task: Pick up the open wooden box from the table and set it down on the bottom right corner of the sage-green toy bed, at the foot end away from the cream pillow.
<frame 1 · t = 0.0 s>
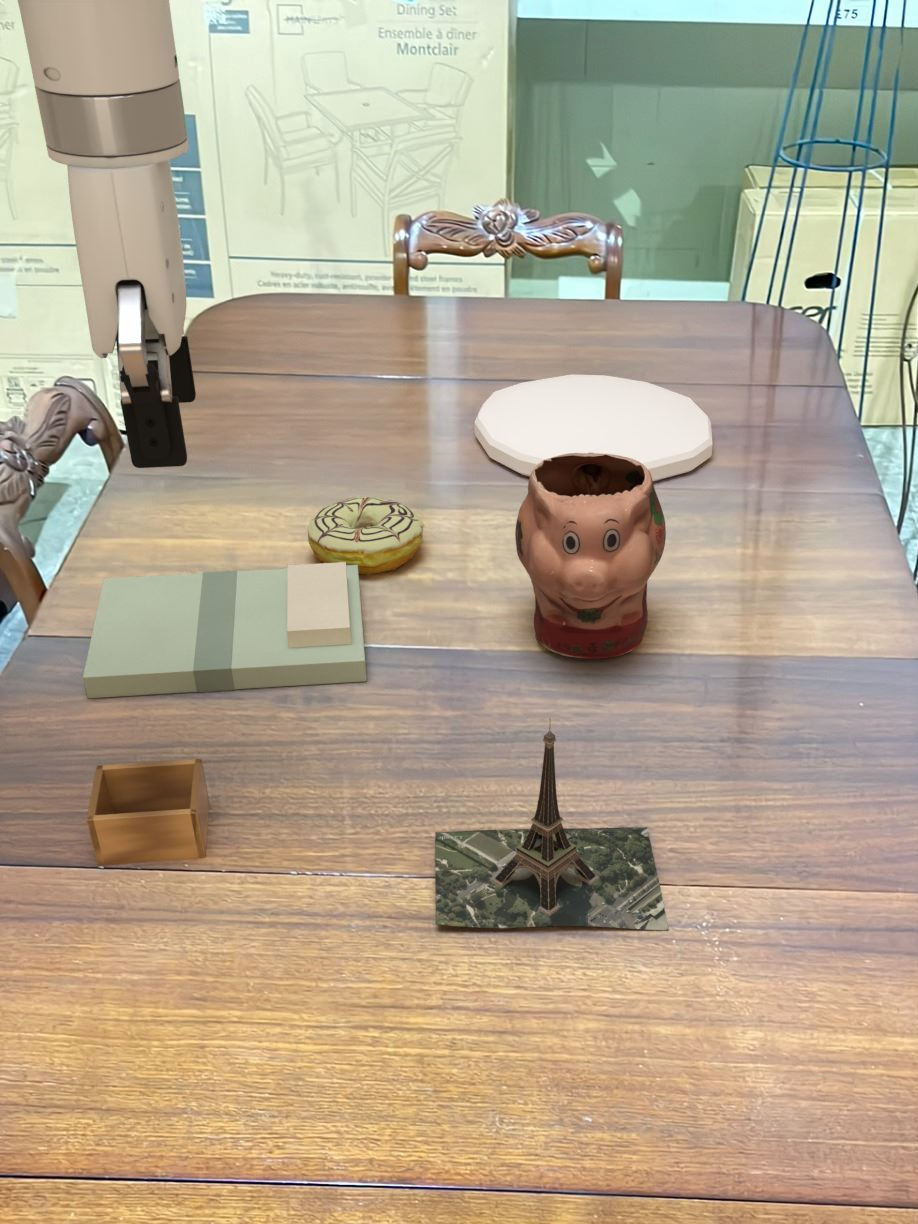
hand: (166, 431, 84), 25 cm above the table, tool pointing down, fingers open, 9 cm apart
decorative planter: (585, 625, 116), on the table
eiffel tower figurine: (547, 883, 91), on the table
decorated donut: (367, 554, 126), on the table
bed: (231, 638, 114), on the table
decorative plate: (593, 440, 145), on the table
open wooden box: (159, 852, 93), on the table
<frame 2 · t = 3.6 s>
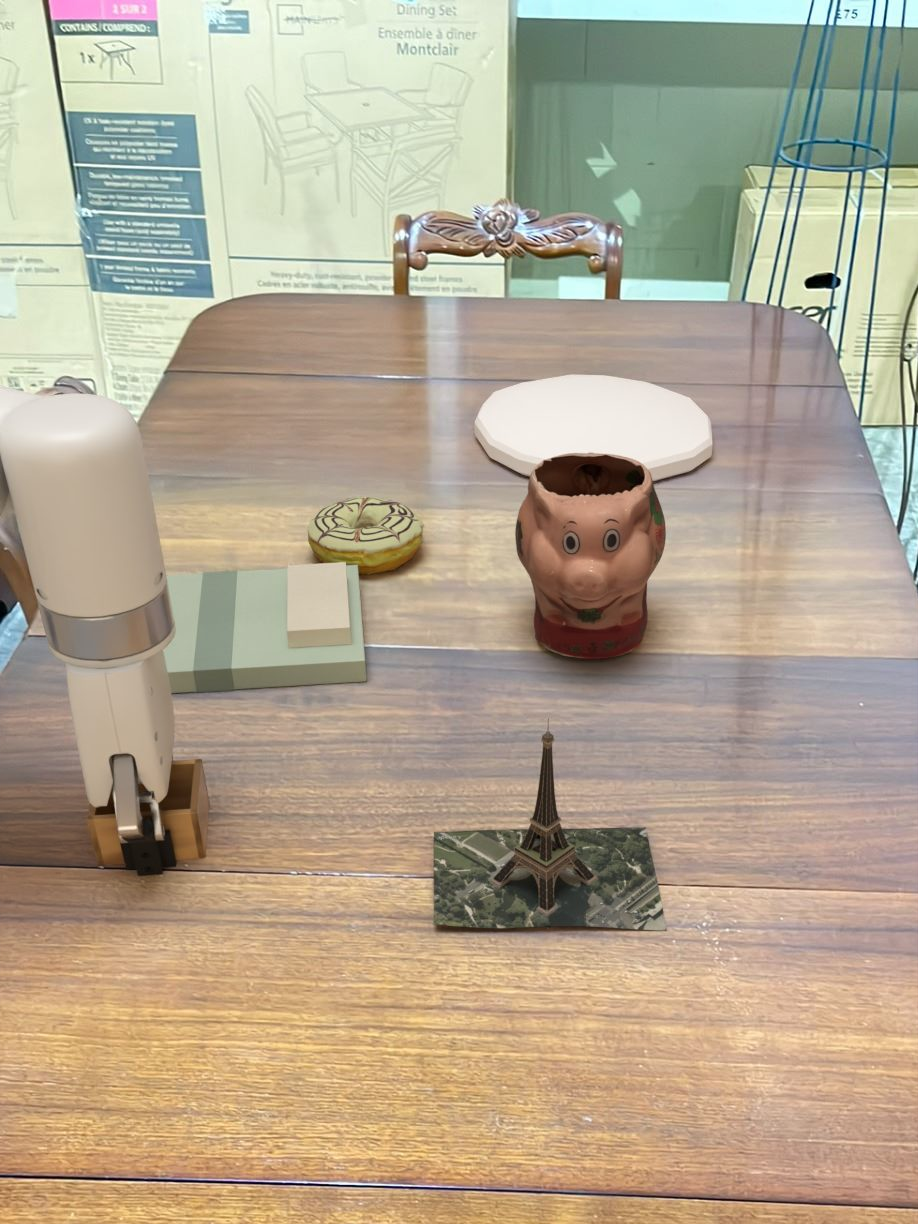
hand: (158, 846, 93), 1 cm above the table, tool pointing down, fingers closed on open wooden box, 6 cm apart
open wooden box: (159, 852, 93), on the table, touching gripper
everything else where it was.
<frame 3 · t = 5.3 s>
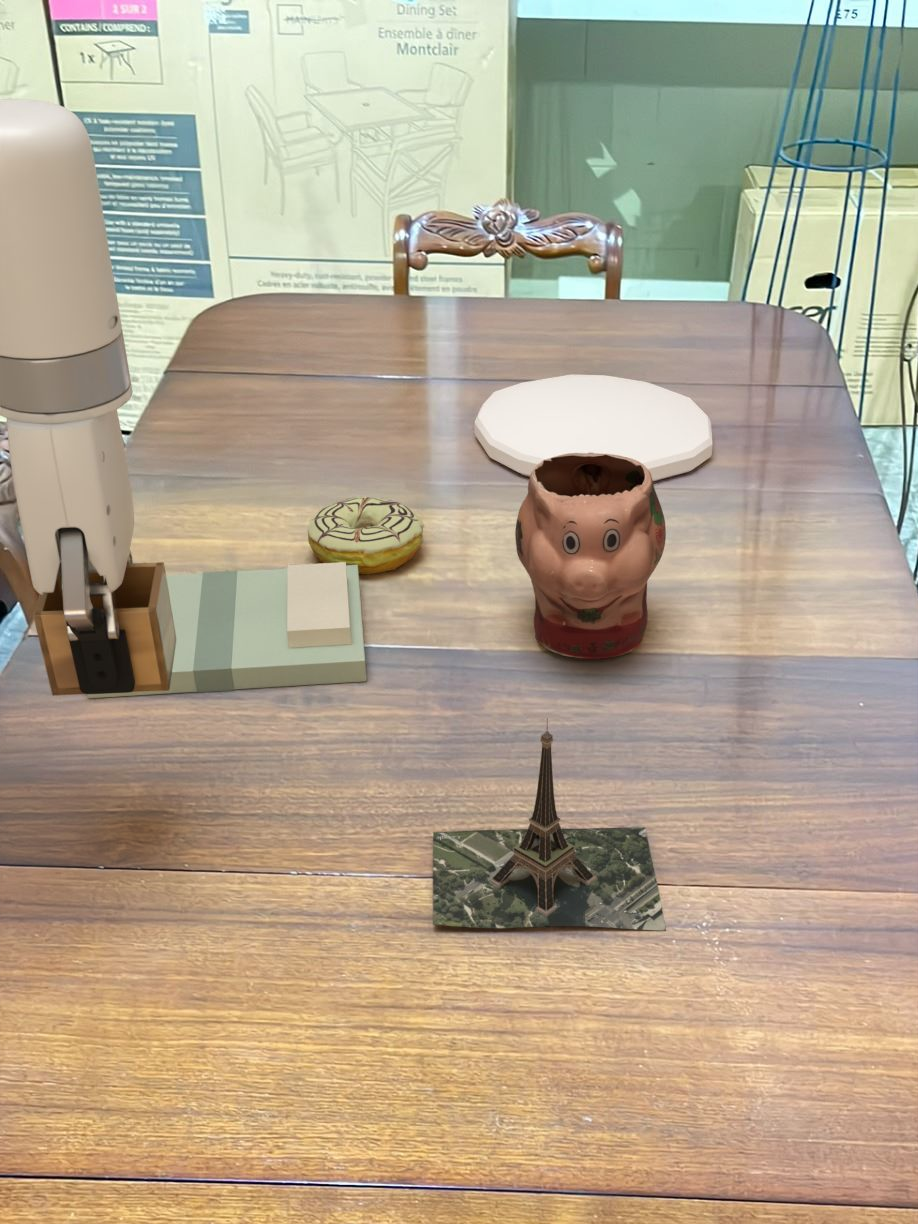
hand: (114, 658, 84), 15 cm above the table, tool pointing down, fingers closed on open wooden box, 6 cm apart
open wooden box: (116, 667, 85), point 14 cm above the table, touching gripper
everything else where it was.
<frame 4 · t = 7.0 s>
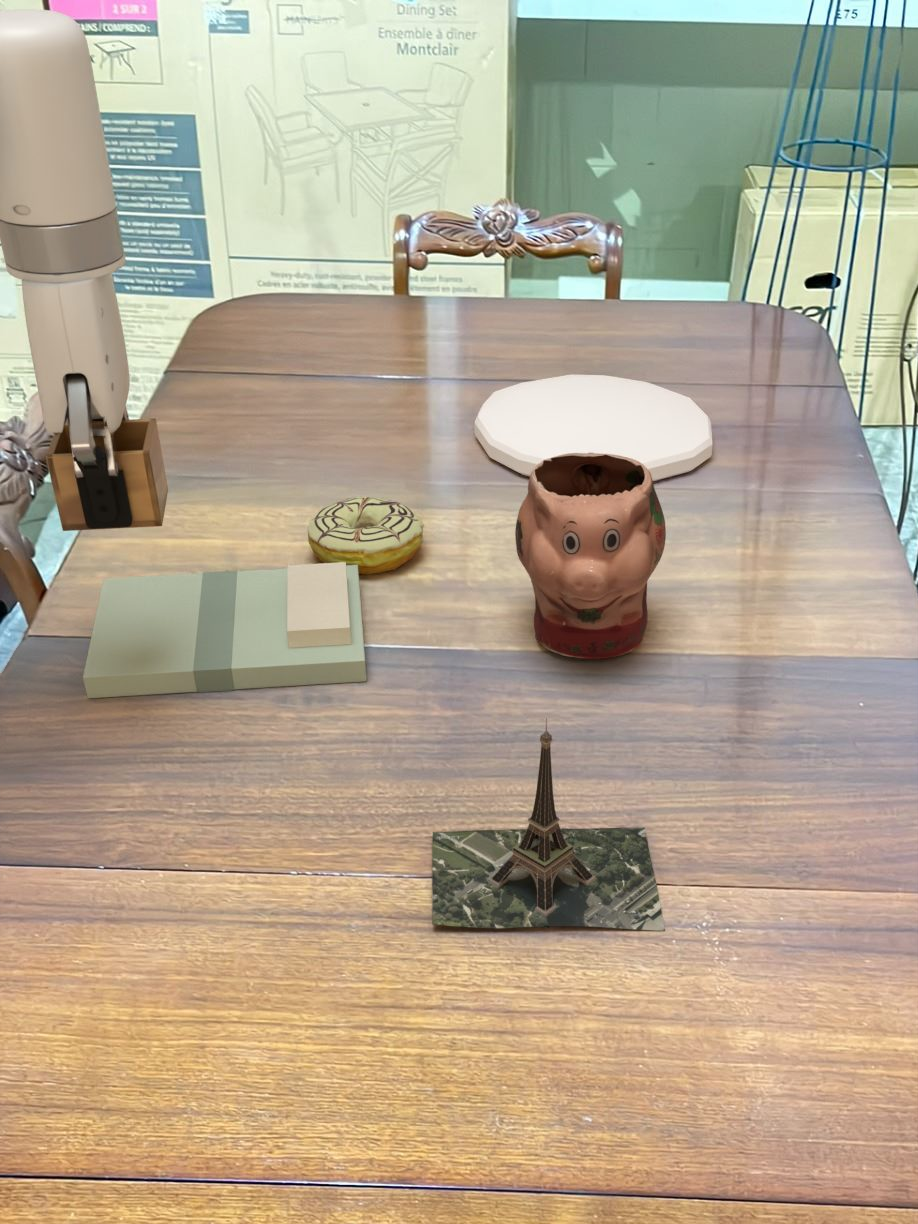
hand: (114, 502, 99), 15 cm above the table, tool pointing down, fingers closed on open wooden box, 6 cm apart
open wooden box: (116, 510, 99), point 15 cm above the table, touching gripper
everything else where it was.
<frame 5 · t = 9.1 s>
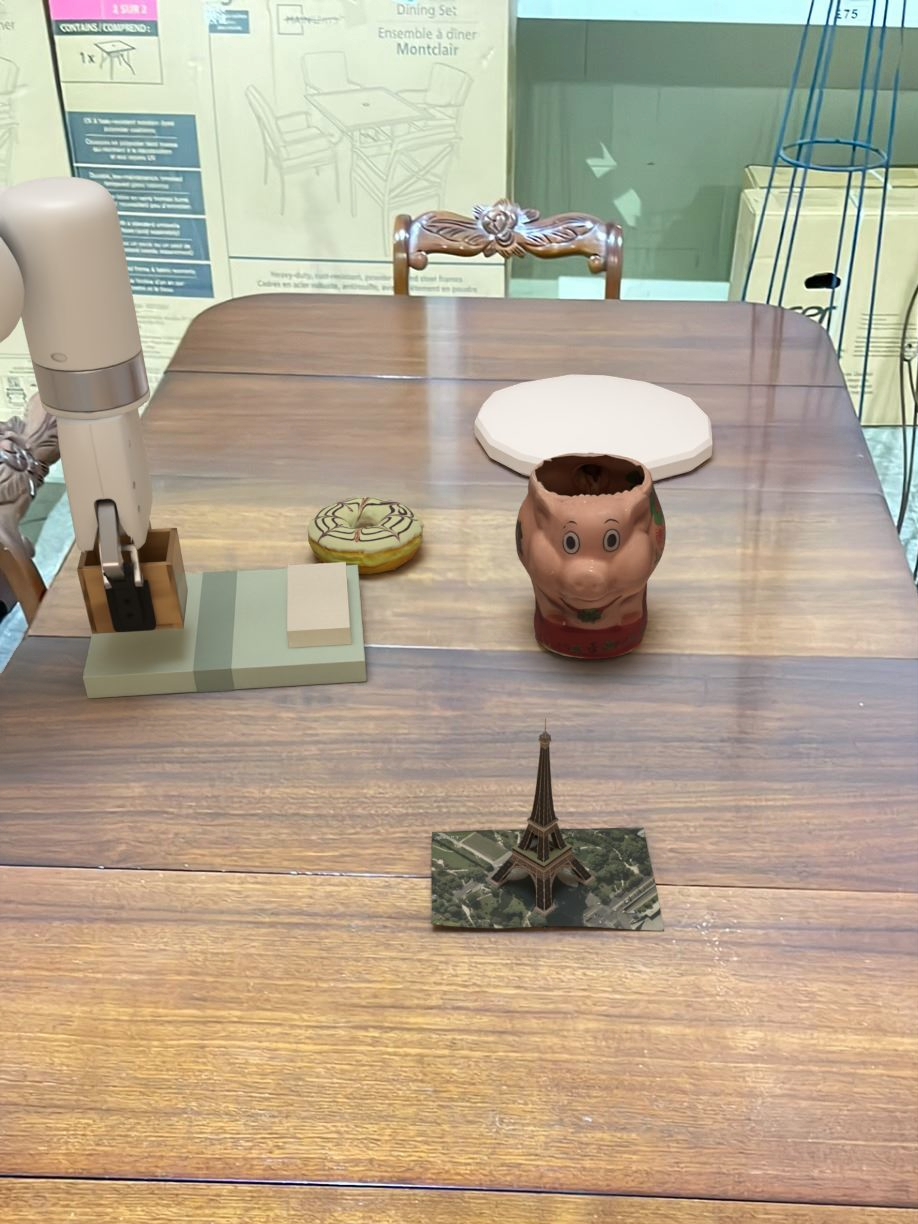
hand: (139, 605, 107), 6 cm above the table, tool pointing down, fingers closed on open wooden box, 6 cm apart
open wooden box: (141, 611, 107), point 5 cm above the table, touching gripper
everything else where it was.
when the fingers open (3 cm above the table, at t = 10.5 s): open wooden box stays where it is, resting on bed.
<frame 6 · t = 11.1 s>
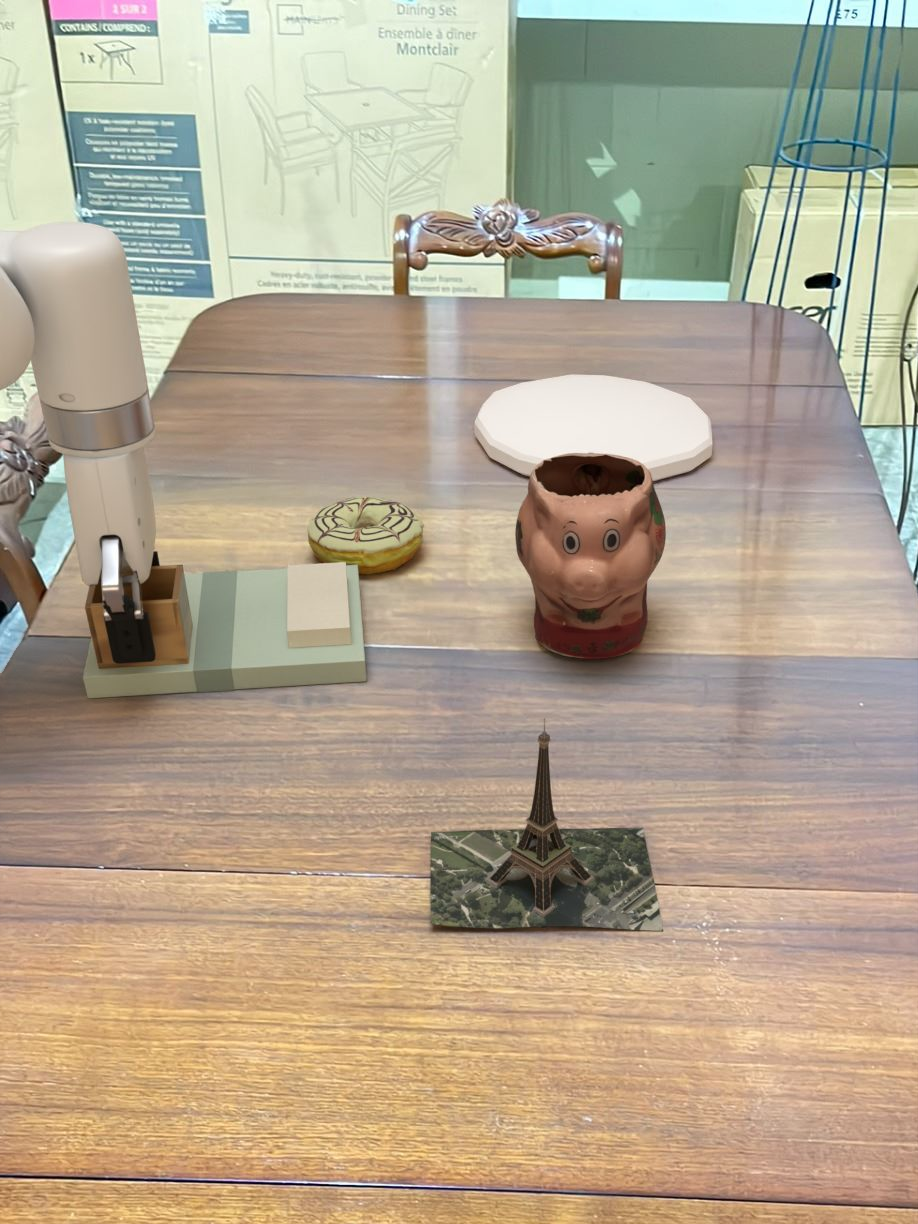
hand: (140, 628, 108), 4 cm above the table, tool pointing down, fingers open, 9 cm apart
open wooden box: (146, 646, 109), point 2 cm above the table, touching bed
everything else where it was.
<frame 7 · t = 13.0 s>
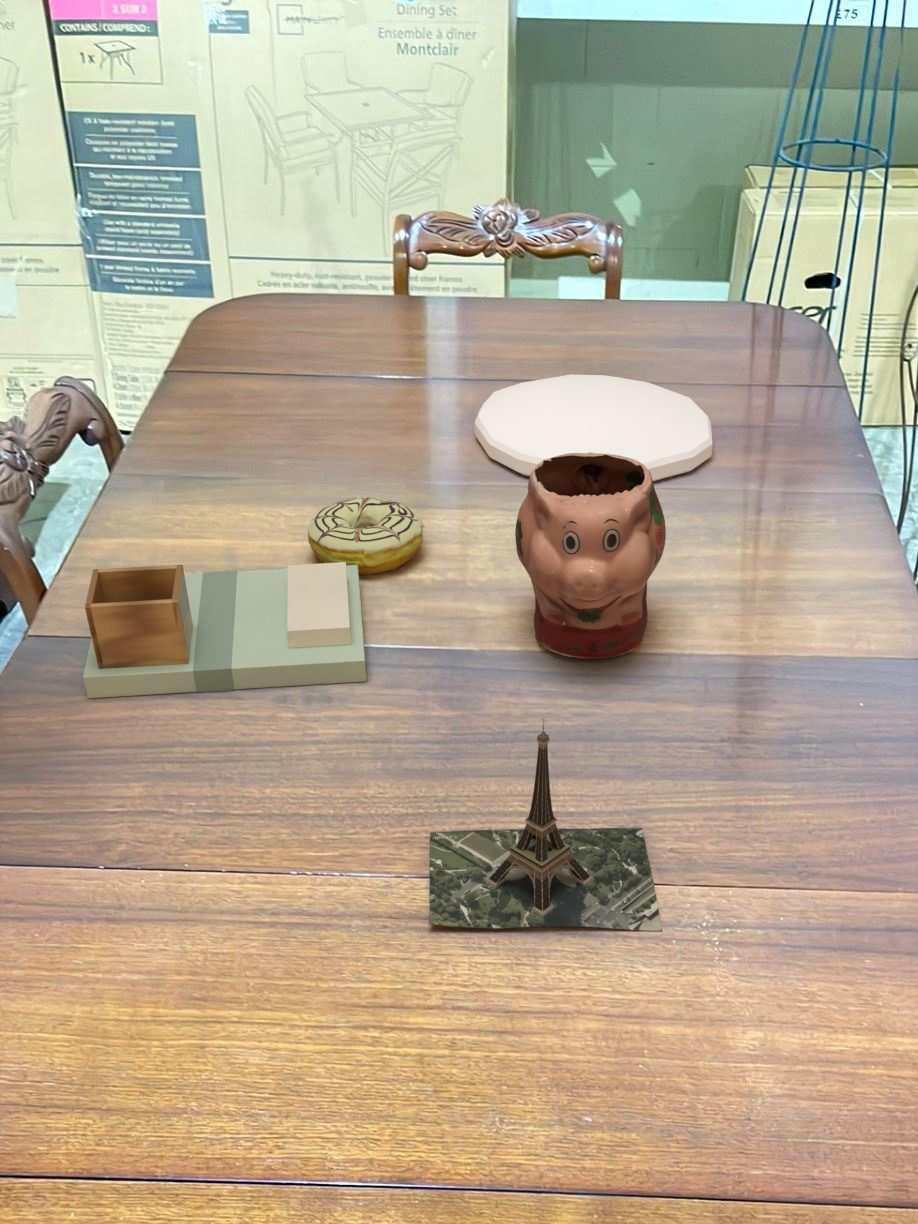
nothing on the table moved.
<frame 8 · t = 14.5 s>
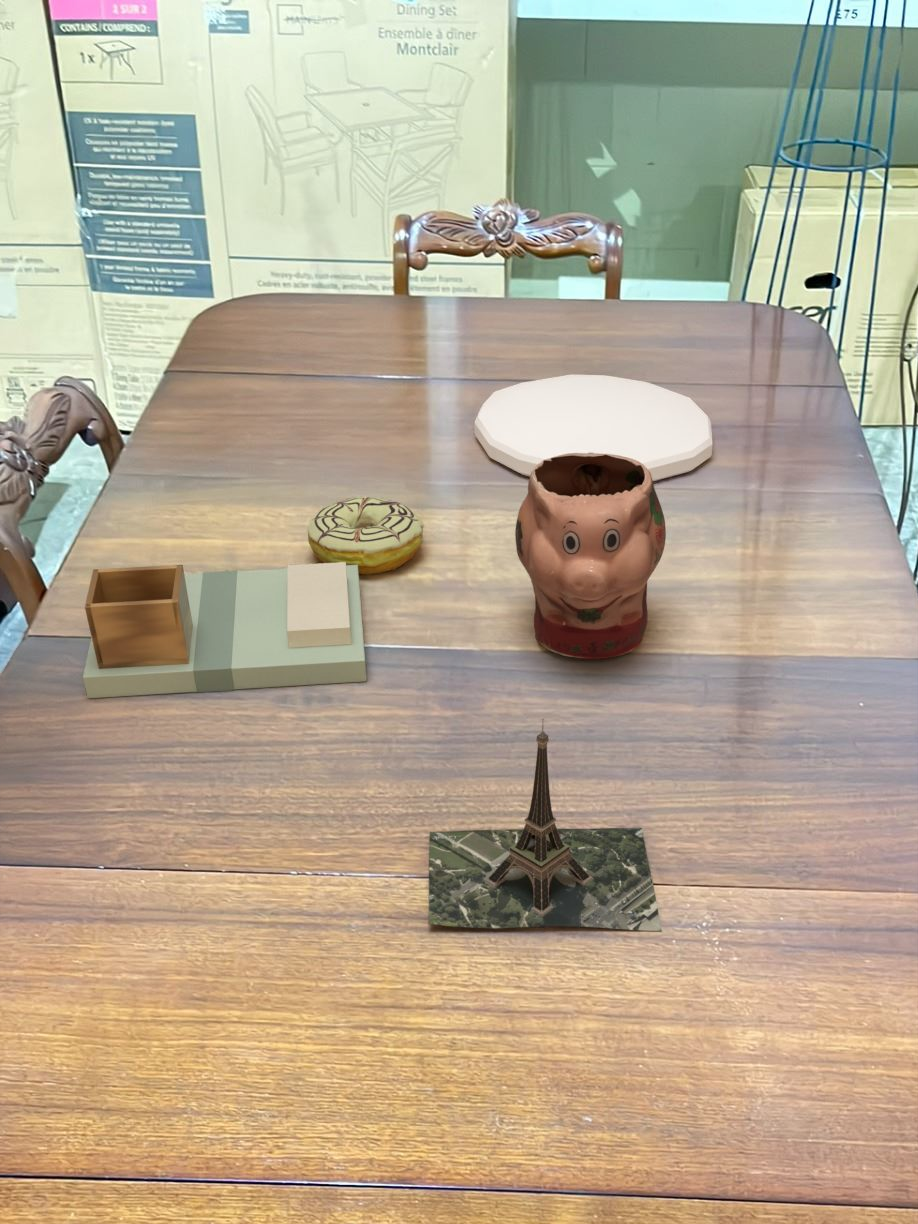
nothing on the table moved.
at the end: open wooden box inside the target area on the bed (0.6 cm from its centre), point 2.0 cm above the bed's base; open wooden box tilted 0°; the gripper is holding nothing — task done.
